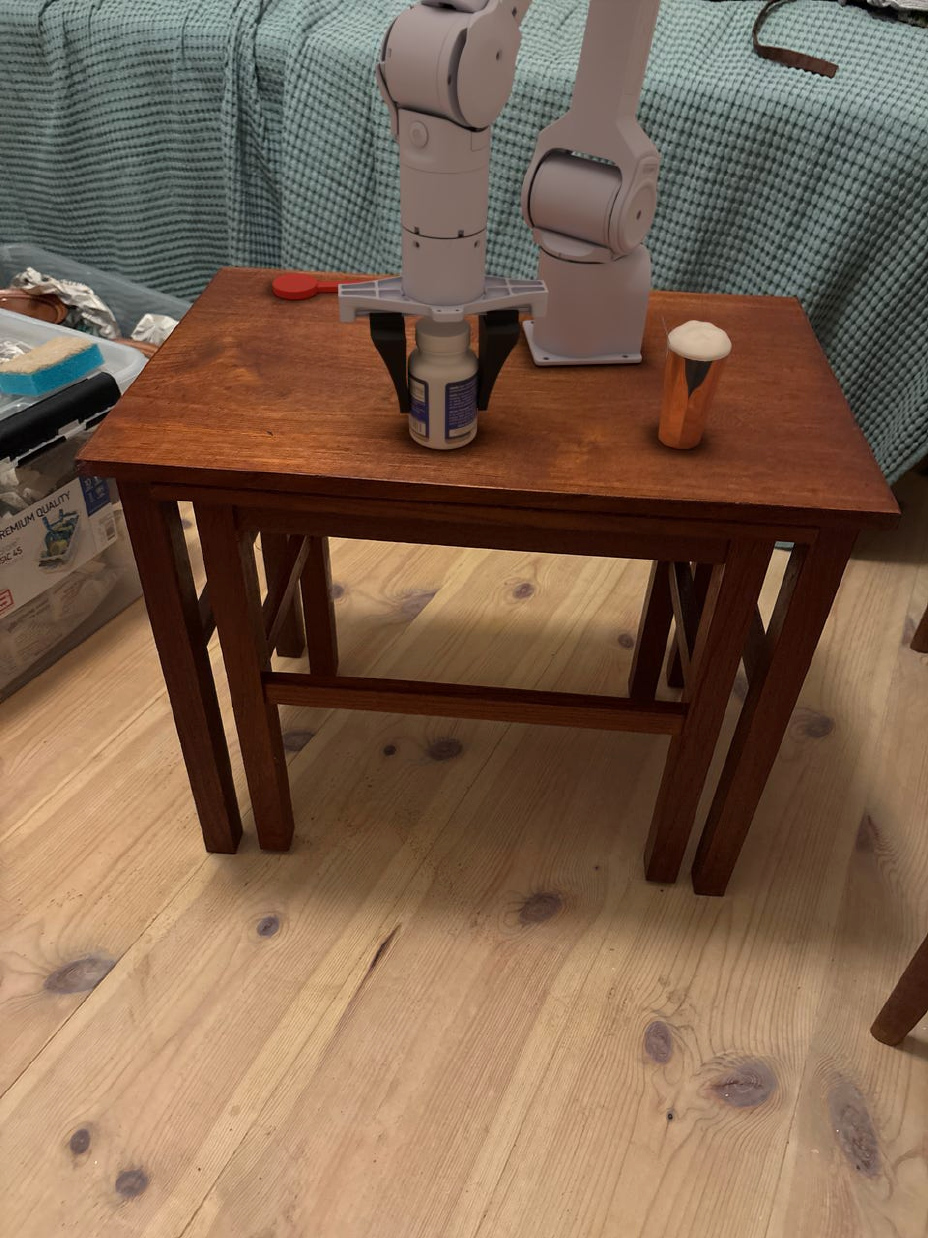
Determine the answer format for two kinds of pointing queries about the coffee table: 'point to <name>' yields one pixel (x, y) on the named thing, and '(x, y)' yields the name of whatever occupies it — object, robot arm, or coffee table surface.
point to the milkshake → (691, 381)
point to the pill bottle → (442, 384)
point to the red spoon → (305, 286)
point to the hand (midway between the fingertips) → (442, 405)
